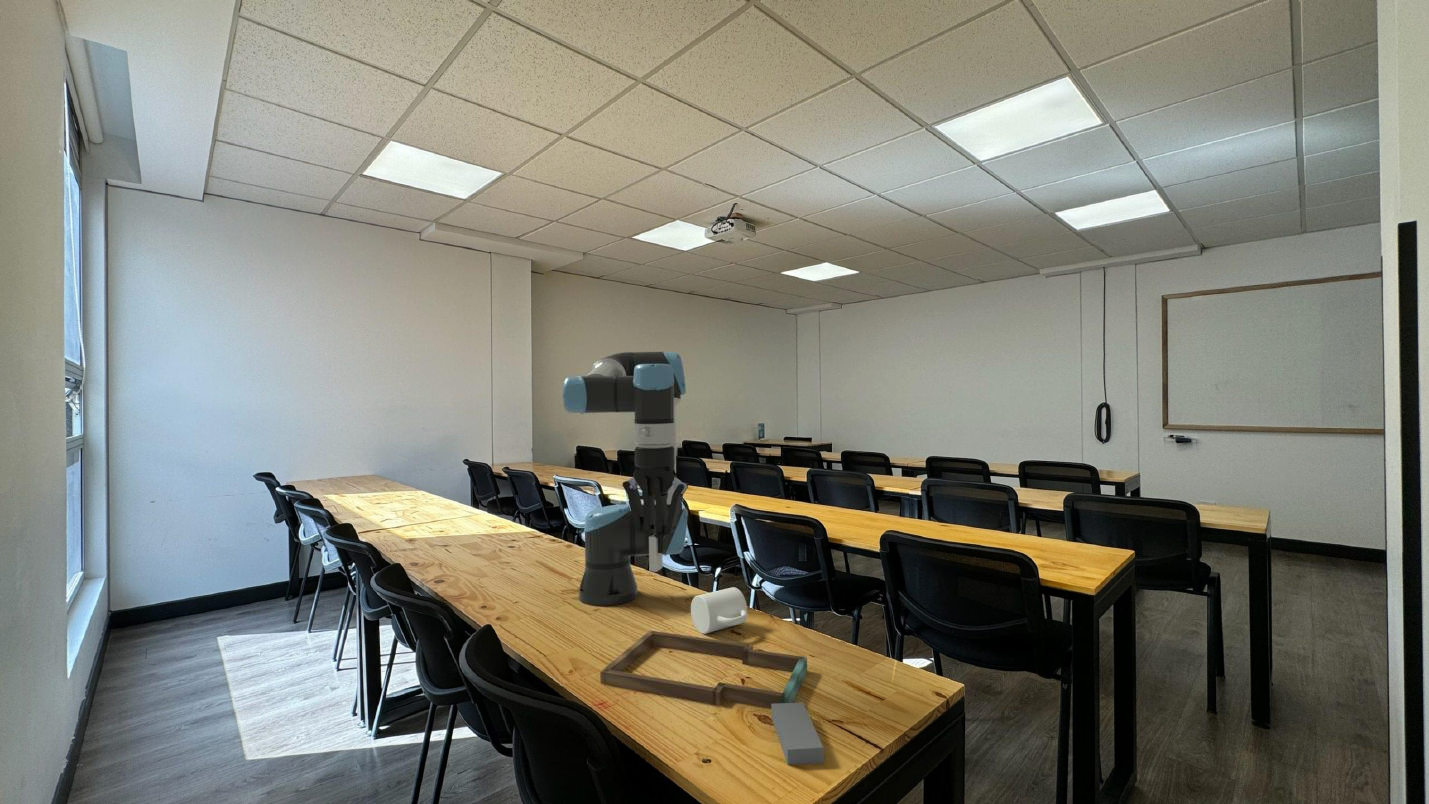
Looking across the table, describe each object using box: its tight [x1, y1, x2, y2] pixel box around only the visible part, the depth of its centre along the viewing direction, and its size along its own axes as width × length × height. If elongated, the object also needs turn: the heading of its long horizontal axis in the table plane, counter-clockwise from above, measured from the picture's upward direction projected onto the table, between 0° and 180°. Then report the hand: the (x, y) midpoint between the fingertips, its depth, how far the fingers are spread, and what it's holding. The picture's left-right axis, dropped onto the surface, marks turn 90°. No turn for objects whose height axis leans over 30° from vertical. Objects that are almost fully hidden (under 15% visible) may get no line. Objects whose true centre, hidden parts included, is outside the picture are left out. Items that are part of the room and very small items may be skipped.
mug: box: [690, 586, 748, 635], centre depth 126 cm, size 12×10×8 cm
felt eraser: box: [770, 701, 825, 766], centre depth 84 cm, size 12×5×3 cm, turn 5°
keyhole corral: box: [599, 630, 808, 709], centre depth 105 cm, size 19×33×2 cm, turn 70°
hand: (656, 569), depth 109 cm, fingers closed
